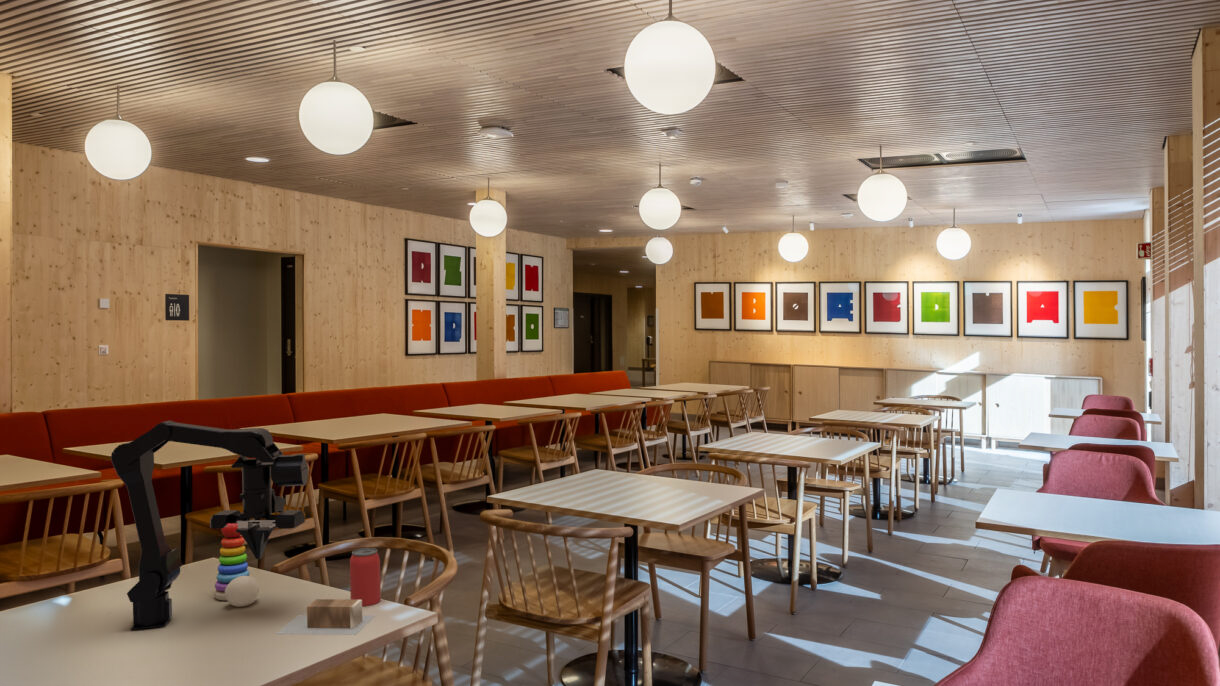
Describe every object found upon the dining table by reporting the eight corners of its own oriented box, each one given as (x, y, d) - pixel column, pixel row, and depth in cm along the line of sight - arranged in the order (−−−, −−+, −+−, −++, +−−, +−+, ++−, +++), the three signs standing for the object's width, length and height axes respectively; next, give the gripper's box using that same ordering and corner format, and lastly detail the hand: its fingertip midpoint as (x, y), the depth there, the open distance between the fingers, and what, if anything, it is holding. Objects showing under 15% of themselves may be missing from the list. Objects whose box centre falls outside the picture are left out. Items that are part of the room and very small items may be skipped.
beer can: (386, 600, 186) (385, 548, 186) (367, 610, 180) (365, 556, 180) (364, 597, 189) (363, 545, 188) (344, 606, 183) (343, 553, 182)
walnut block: (306, 606, 168) (353, 606, 168) (316, 599, 173) (361, 599, 172) (307, 627, 168) (354, 628, 168) (316, 620, 173) (362, 620, 172)
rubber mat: (275, 635, 166) (275, 633, 166) (299, 616, 177) (299, 614, 176) (356, 636, 164) (356, 634, 164) (375, 617, 175) (375, 615, 175)
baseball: (233, 600, 188) (232, 572, 187) (264, 600, 187) (263, 572, 187) (218, 611, 181) (217, 581, 181) (250, 611, 180) (249, 581, 180)
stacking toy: (242, 601, 187) (239, 521, 186) (207, 602, 187) (205, 521, 186) (257, 590, 195) (255, 513, 194) (224, 590, 195) (222, 513, 194)
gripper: (314, 479, 183) (316, 548, 183) (235, 480, 184) (237, 548, 184) (292, 490, 172) (293, 563, 172) (207, 490, 173) (209, 562, 173)
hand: (258, 558), depth 176 cm, fingers closed
